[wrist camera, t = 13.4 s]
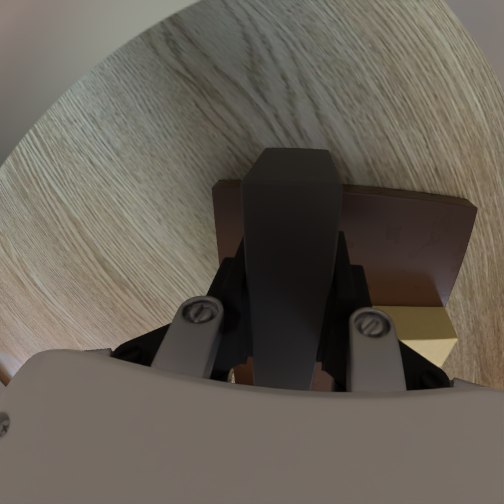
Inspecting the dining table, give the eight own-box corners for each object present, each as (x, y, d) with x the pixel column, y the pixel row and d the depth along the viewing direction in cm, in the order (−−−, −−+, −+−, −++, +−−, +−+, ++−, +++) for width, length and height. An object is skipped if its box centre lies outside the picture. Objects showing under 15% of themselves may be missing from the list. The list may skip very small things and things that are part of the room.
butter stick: (355, 304, 18) (360, 340, 15) (444, 306, 16) (458, 338, 14) (342, 352, 20) (343, 386, 17) (422, 352, 19) (430, 383, 16)
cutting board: (218, 179, 17) (211, 187, 15) (467, 199, 14) (478, 208, 13) (239, 380, 27) (236, 391, 25) (393, 387, 24) (394, 399, 23)
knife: (264, 147, 9) (239, 180, 6) (329, 149, 9) (344, 185, 6) (267, 421, 20) (259, 464, 16) (295, 423, 19) (289, 467, 16)
